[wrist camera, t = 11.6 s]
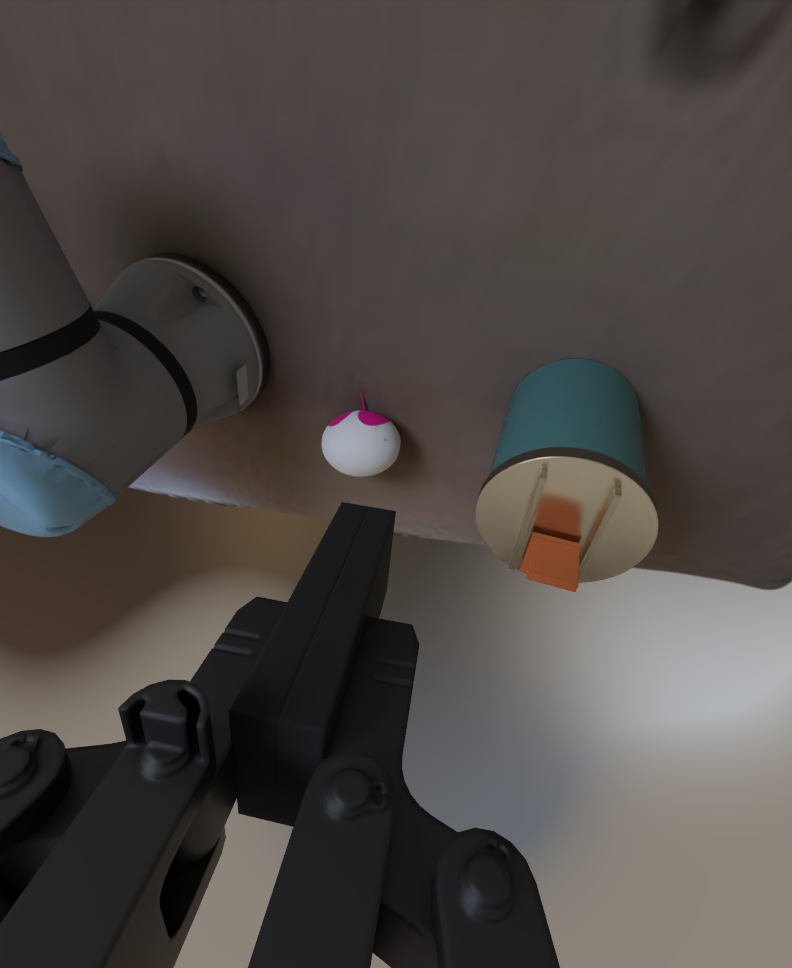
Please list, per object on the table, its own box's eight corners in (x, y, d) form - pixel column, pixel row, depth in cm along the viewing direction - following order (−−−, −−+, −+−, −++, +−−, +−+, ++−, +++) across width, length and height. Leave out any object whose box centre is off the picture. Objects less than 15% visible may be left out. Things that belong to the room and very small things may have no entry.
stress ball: (412, 392, 45) (388, 383, 39) (412, 474, 46) (389, 479, 40) (341, 395, 48) (308, 387, 42) (342, 473, 49) (309, 477, 42)
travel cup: (519, 342, 36) (488, 446, 26) (667, 369, 34) (695, 493, 24) (493, 451, 43) (461, 565, 33) (614, 479, 41) (619, 610, 31)
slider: (532, 531, 30) (526, 572, 27) (581, 543, 29) (580, 586, 27) (520, 566, 32) (513, 607, 30) (565, 578, 31) (562, 621, 29)
